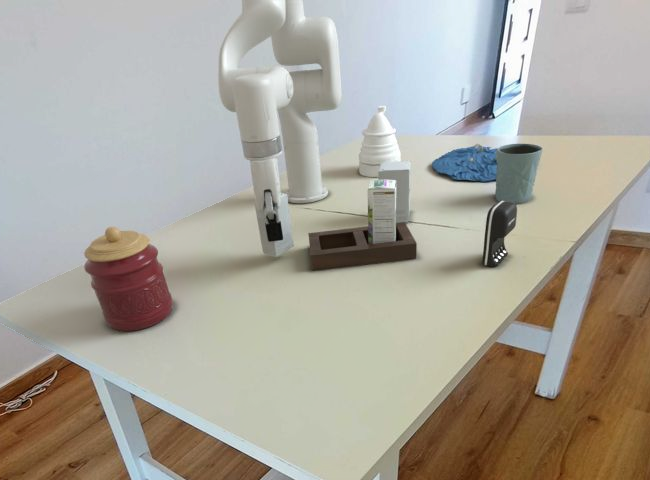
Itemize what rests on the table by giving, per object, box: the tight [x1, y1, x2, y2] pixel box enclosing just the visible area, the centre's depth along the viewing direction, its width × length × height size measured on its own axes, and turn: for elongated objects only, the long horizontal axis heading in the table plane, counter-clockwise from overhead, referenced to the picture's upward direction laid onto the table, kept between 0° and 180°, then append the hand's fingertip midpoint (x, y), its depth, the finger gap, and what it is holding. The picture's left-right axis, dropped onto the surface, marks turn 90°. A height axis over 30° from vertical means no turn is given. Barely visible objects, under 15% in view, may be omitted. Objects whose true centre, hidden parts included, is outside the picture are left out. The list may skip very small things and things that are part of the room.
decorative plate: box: [431, 143, 499, 182], centre depth 148 cm, size 30×30×5 cm
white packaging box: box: [377, 160, 412, 223], centre depth 120 cm, size 7×7×13 cm
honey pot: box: [358, 105, 402, 178], centre depth 151 cm, size 13×13×18 cm
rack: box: [307, 222, 418, 272], centre depth 108 cm, size 12×22×4 cm, turn 93°
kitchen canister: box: [83, 226, 174, 332], centre depth 91 cm, size 13×13×18 cm
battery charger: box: [481, 201, 518, 267], centre depth 96 cm, size 7×4×11 cm, turn 142°
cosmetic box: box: [253, 192, 295, 258], centre depth 106 cm, size 6×4×12 cm
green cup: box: [494, 143, 543, 205], centre depth 123 cm, size 10×10×12 cm
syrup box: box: [367, 179, 396, 244], centre depth 105 cm, size 6×6×14 cm
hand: (275, 232), depth 107 cm, fingers closed on cosmetic box, 7 cm apart
